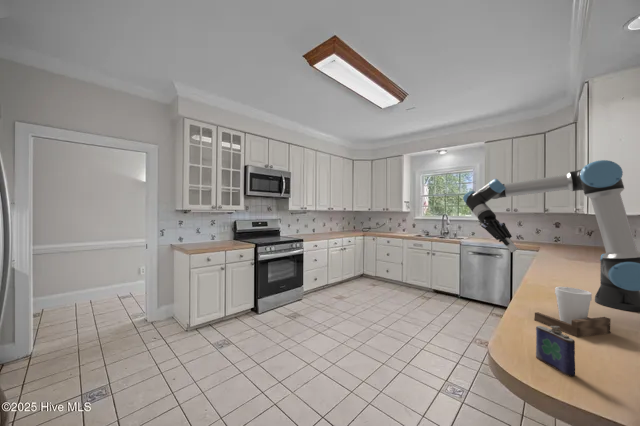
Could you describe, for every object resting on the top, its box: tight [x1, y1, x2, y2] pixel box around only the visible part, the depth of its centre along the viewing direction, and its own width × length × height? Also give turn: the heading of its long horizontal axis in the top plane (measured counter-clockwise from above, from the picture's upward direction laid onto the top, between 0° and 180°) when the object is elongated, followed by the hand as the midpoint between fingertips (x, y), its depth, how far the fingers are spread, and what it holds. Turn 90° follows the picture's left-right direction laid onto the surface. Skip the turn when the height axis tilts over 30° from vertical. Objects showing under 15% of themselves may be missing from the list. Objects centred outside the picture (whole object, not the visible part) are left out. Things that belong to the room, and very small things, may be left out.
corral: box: [534, 311, 611, 338], centre depth 92 cm, size 15×14×5 cm
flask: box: [535, 325, 576, 378], centre depth 67 cm, size 9×3×11 cm, turn 8°
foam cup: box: [554, 286, 593, 324], centre depth 93 cm, size 10×9×13 cm
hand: (514, 250), depth 117 cm, fingers closed
